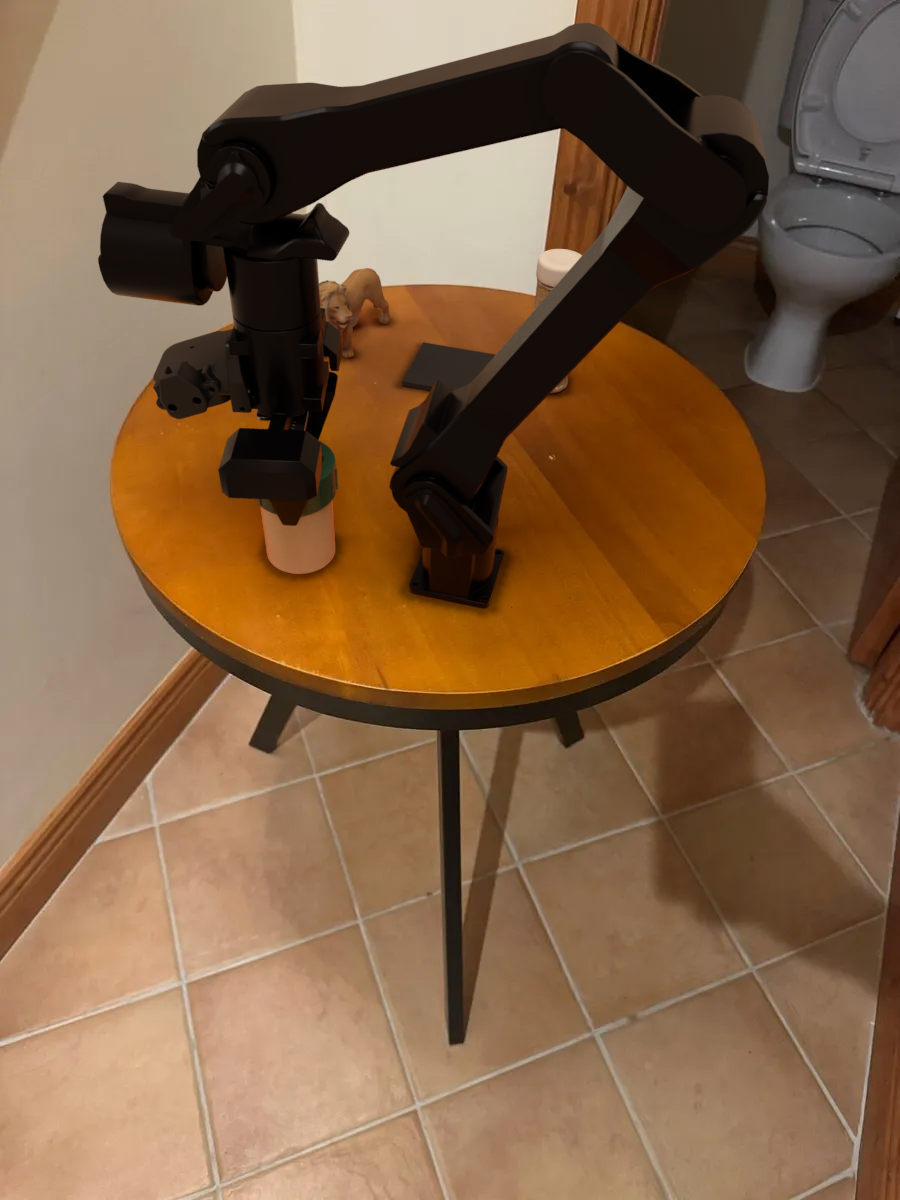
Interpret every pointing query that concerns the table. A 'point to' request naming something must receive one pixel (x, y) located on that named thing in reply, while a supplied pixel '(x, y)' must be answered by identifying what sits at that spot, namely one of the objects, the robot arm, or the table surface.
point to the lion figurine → (352, 302)
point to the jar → (300, 541)
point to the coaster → (445, 367)
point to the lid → (325, 489)
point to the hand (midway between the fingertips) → (295, 495)
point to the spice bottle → (553, 279)
